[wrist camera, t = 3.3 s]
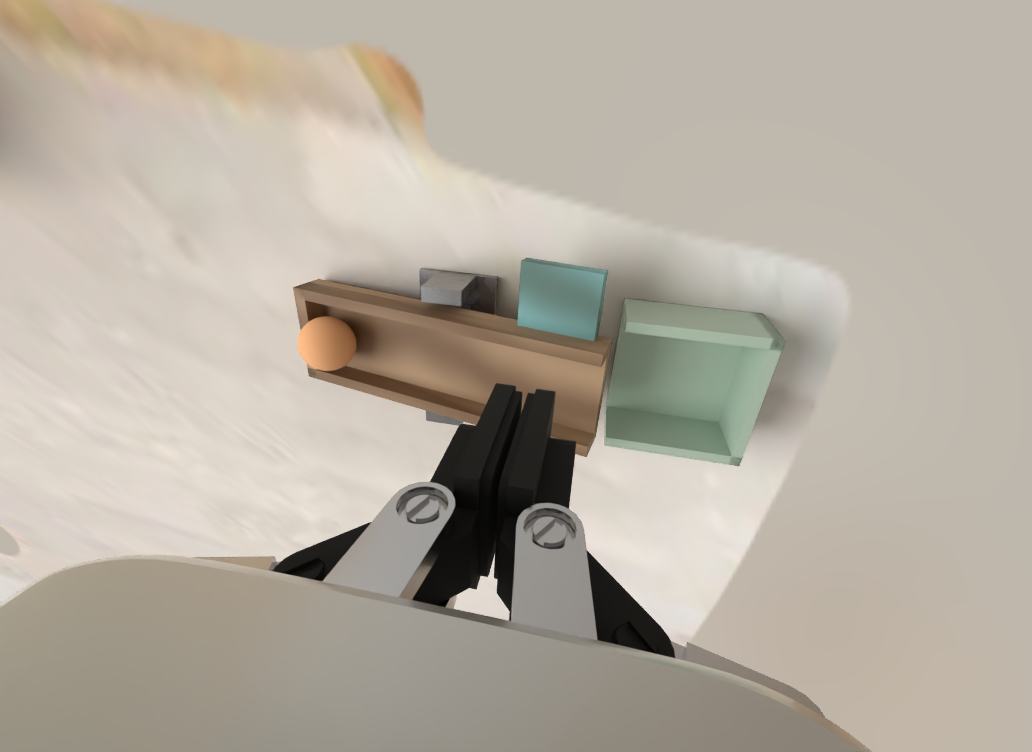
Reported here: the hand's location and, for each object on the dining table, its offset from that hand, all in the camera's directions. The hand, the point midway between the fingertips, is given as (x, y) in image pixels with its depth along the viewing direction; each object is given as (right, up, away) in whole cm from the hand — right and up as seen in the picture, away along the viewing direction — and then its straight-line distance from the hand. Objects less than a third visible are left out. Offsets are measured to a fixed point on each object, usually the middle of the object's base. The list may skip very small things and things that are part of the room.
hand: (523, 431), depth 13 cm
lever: (-4, +5, +15) cm, 17 cm away
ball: (-12, +4, +16) cm, 21 cm away
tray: (+10, +2, +16) cm, 19 cm away
